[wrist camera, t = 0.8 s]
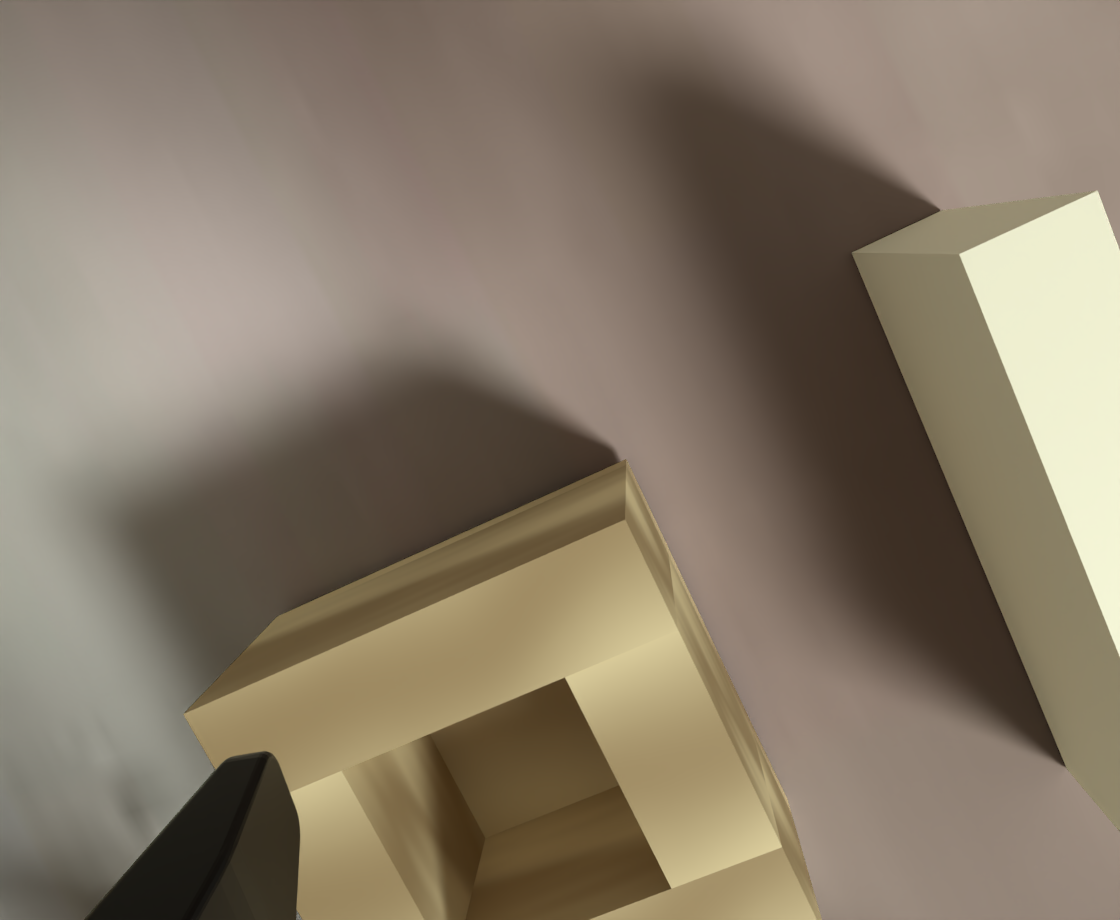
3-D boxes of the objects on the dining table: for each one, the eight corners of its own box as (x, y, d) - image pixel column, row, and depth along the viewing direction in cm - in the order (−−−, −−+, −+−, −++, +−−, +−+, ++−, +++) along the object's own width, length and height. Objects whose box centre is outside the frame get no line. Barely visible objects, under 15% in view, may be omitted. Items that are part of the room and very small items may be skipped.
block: (787, 799, 23) (829, 944, 18) (449, 928, 25) (405, 1096, 20) (626, 459, 22) (625, 519, 17) (276, 616, 23) (183, 714, 18)
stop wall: (1152, 737, 23) (1378, 948, 16) (1066, 768, 23) (1252, 989, 16) (942, 210, 21) (1097, 190, 14) (851, 252, 21) (959, 254, 14)
